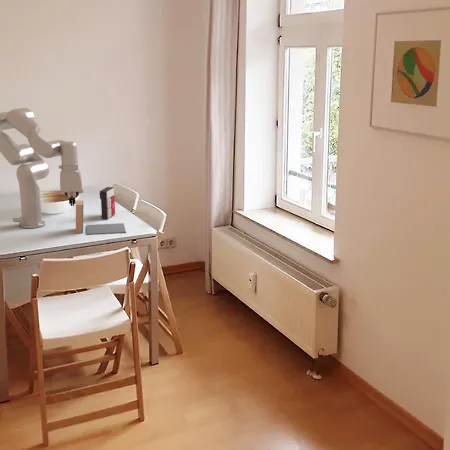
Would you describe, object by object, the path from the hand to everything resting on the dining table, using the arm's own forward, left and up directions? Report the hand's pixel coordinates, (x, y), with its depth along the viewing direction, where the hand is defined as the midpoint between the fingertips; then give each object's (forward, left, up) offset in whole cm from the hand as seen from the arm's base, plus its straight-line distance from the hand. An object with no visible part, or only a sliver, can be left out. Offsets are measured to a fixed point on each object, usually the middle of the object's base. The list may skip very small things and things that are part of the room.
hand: (72, 205), depth 312 cm
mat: (+15, 0, -13) cm, 20 cm away
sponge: (+3, 0, -13) cm, 13 cm away
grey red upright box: (+18, +24, -13) cm, 33 cm away
